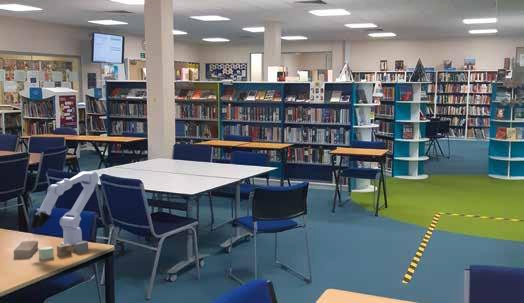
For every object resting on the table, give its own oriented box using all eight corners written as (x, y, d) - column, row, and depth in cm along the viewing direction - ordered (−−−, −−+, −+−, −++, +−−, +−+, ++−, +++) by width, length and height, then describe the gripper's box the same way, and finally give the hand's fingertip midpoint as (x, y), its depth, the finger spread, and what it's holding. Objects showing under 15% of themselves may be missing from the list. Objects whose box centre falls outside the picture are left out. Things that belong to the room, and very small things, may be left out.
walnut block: (68, 252, 277) (68, 243, 276) (71, 254, 274) (71, 245, 273) (57, 254, 272) (56, 245, 272) (60, 256, 270) (59, 247, 269)
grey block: (85, 249, 282) (84, 240, 281) (88, 251, 279) (88, 242, 278) (74, 251, 278) (74, 242, 277) (77, 253, 275) (77, 244, 274)
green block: (50, 255, 271) (50, 246, 271) (53, 257, 268) (53, 248, 268) (39, 258, 267) (38, 248, 267) (42, 259, 264) (41, 250, 264)
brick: (30, 257, 268) (29, 249, 267) (13, 258, 266) (12, 249, 266) (38, 248, 284) (38, 240, 283) (22, 249, 283) (22, 240, 282)
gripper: (35, 202, 278) (23, 225, 271) (47, 199, 268) (34, 223, 261) (47, 208, 282) (35, 230, 275) (58, 206, 272) (46, 229, 265)
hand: (35, 227), depth 269 cm, fingers open, 7 cm apart
